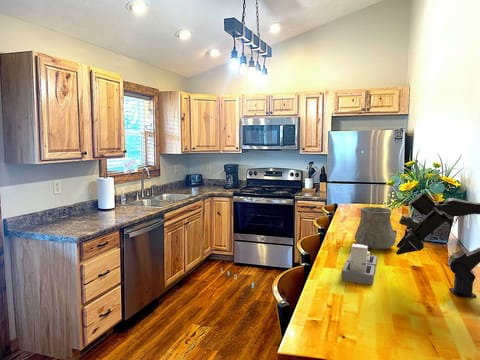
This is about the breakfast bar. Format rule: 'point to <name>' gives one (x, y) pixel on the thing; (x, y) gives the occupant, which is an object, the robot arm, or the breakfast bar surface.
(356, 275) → the bottle caddy
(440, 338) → the breakfast bar surface
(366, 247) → the skincare box
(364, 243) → the vessel
